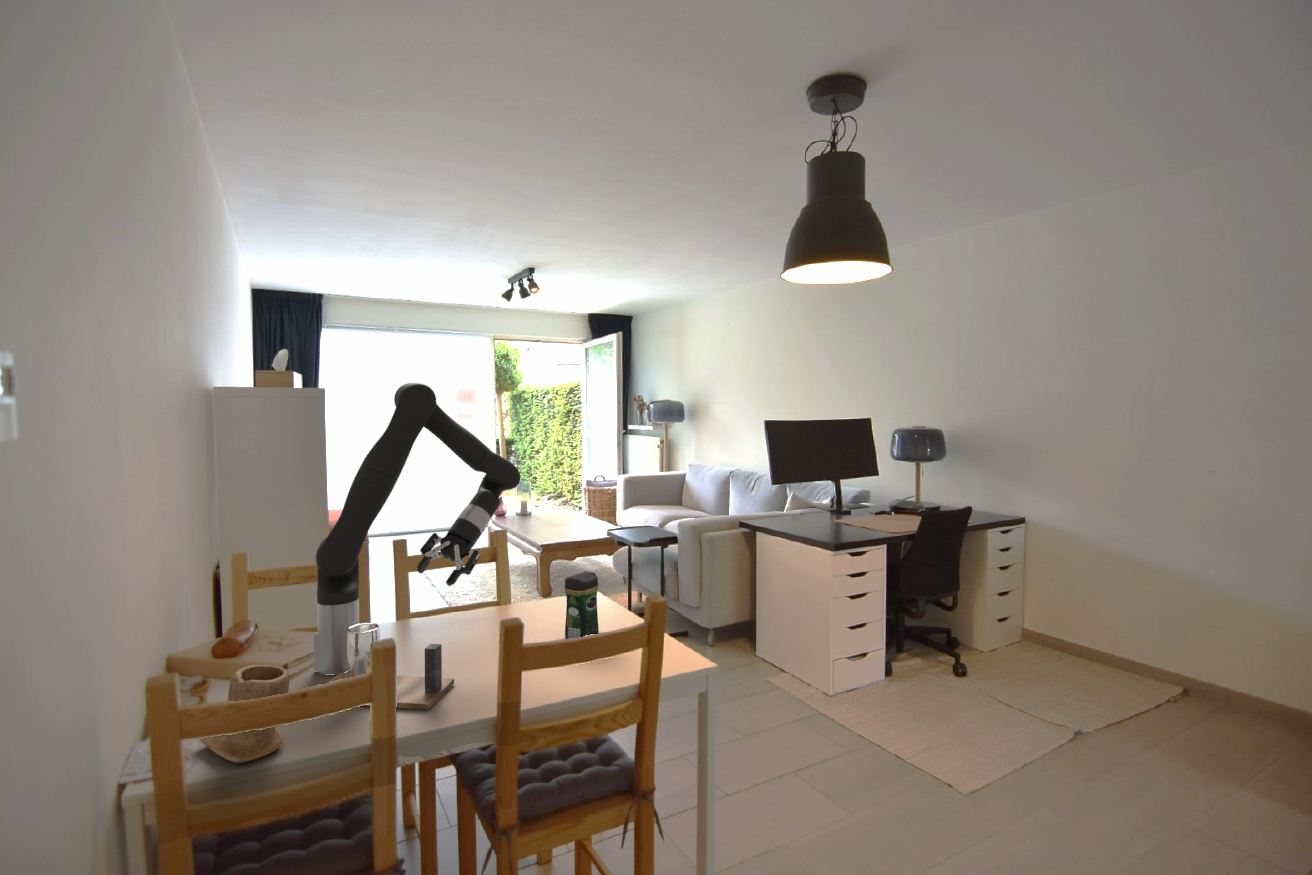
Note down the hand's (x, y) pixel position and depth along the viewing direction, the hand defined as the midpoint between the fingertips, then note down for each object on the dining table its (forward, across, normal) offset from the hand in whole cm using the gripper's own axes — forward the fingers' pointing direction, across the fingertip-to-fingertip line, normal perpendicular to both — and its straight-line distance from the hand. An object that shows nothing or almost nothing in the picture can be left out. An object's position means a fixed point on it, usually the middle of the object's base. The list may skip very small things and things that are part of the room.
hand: (433, 578), depth 156 cm
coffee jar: (-10, +33, +31) cm, 46 cm away
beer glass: (+29, 0, +4) cm, 29 cm away
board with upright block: (+27, +4, +3) cm, 28 cm away
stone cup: (+47, -4, -14) cm, 49 cm away
